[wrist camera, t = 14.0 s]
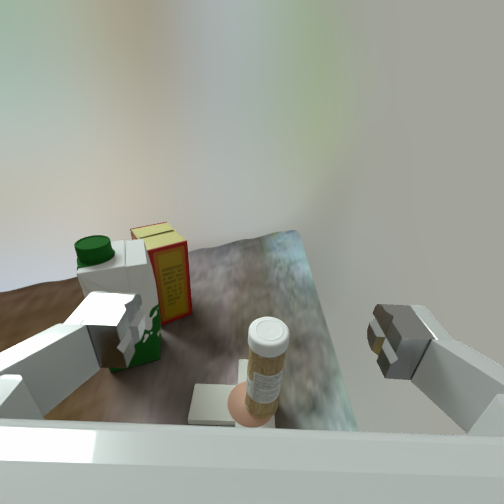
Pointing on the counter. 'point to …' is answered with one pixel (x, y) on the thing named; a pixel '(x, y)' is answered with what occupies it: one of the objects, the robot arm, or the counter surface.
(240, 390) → the tee board
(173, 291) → the baking soda box
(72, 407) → the counter surface
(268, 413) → the sprinkles bottle
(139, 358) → the milk carton
